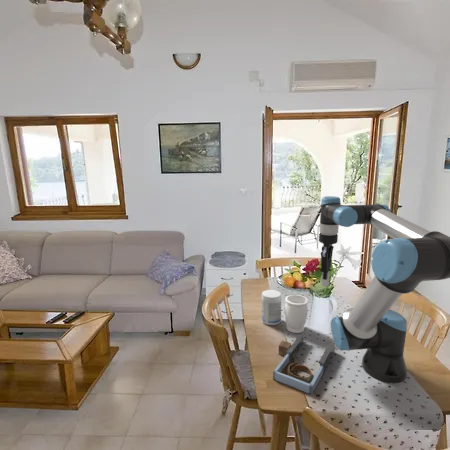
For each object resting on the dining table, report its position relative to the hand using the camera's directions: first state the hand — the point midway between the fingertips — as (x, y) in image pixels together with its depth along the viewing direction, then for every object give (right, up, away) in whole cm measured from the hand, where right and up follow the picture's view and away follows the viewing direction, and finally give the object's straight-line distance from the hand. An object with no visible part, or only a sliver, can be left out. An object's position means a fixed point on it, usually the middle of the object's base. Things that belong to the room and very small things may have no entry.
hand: (324, 285), depth 139 cm
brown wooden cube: (-19, -27, -8) cm, 34 cm away
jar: (-11, -23, +11) cm, 27 cm away
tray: (-17, -29, -22) cm, 40 cm away
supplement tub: (-21, -21, +18) cm, 35 cm away
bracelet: (-16, -30, -22) cm, 40 cm away
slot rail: (-9, -27, -10) cm, 30 cm away
